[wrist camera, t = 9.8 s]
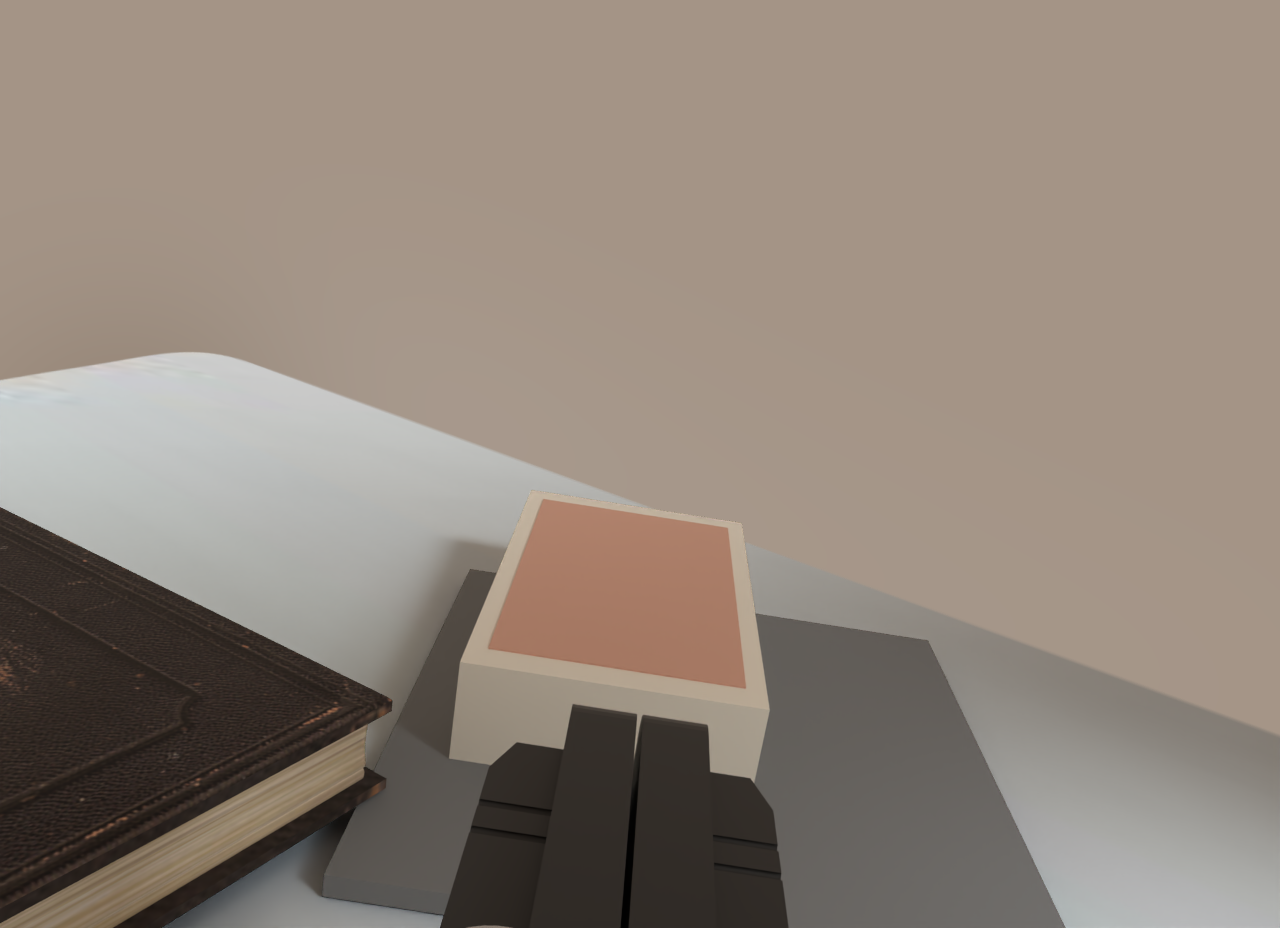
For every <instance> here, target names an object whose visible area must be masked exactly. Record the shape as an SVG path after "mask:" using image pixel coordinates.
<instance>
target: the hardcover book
mask: <svg viewBox="0 0 1280 928" xmlns="http://www.w3.org/2000/svg"><path fill="white" fill-rule="evenodd" d="M391 711H392V700H391V699H390V698H388V697H386V696H384V695H382V694H380V693H378V692H376V691H374V690H372V689H370V688H368V687H366V686H364V685H362V684H360V683H358V682H355V681H353V680H351V679H349V678H347V677H345V676H343V675H341V674H339V673H337V672H335V671H333V670H331V669H329V668H327V667H325V666H323V665H321V664H319V663H317V662H315V661H313V660H311V659H309V658H307V657H305V656H302V655H300V654H298V653H296V652H294V651H292V650H290V649H288V648H286V647H284V646H282V645H280V644H278V643H276V642H274V641H272V640H270V639H268V638H266V637H264V636H262V635H260V634H258V633H256V632H254V631H251V630H249V629H247V628H245V627H243V626H241V625H239V624H237V623H235V622H233V621H231V620H229V619H227V618H225V617H223V616H221V615H219V614H217V613H215V612H213V611H211V610H209V609H207V608H205V607H203V606H201V605H198V604H196V603H194V602H192V601H190V600H188V599H186V598H184V597H182V596H180V595H178V594H176V593H174V592H172V591H170V590H168V589H166V588H164V587H162V586H160V585H158V584H156V583H154V582H152V581H150V580H148V579H145V578H143V577H141V576H139V575H137V574H135V573H133V572H131V571H129V570H127V569H125V568H123V567H121V566H119V565H117V564H115V563H113V562H111V561H109V560H107V559H105V558H103V557H101V556H99V555H97V554H94V553H92V552H90V551H88V550H86V549H84V548H82V547H80V546H78V545H76V544H74V543H72V542H70V541H68V540H66V539H64V538H62V537H60V536H58V535H56V534H54V533H52V532H50V531H48V530H46V529H44V528H41V527H39V526H37V525H35V524H33V523H31V522H29V521H27V520H25V519H23V518H21V517H19V516H17V515H15V514H13V513H11V512H9V511H7V510H5V509H3V508H1V507H0V928H162V927H163V926H165V925H167V924H168V923H170V922H171V921H173V920H175V919H176V918H178V917H179V916H181V915H183V914H184V913H186V912H187V911H189V910H191V909H192V908H194V907H195V906H197V905H199V904H200V903H202V902H203V901H205V900H207V899H208V898H210V897H211V896H213V895H215V894H216V893H218V892H220V891H221V890H223V889H224V888H226V887H228V886H229V885H231V884H232V883H234V882H236V881H237V880H239V879H240V878H242V877H244V876H245V875H247V874H248V873H250V872H252V871H253V870H255V869H256V868H258V867H260V866H261V865H263V864H264V863H266V862H268V861H269V860H271V859H272V858H274V857H276V856H277V855H279V854H281V853H282V852H284V851H285V850H287V849H289V848H290V847H292V846H293V845H295V844H297V843H298V842H300V841H301V840H303V839H305V838H306V837H308V836H309V835H311V834H313V833H314V832H316V831H317V830H319V829H321V828H322V827H324V826H325V825H327V824H329V823H330V822H332V821H334V820H335V819H337V818H338V817H340V816H342V815H343V814H345V813H346V812H348V811H350V810H351V809H353V808H354V807H356V806H358V805H359V804H361V803H362V802H364V801H366V800H367V799H369V798H370V797H372V796H374V795H375V794H377V793H378V792H380V791H382V790H383V789H385V788H386V779H387V778H385V777H383V776H381V775H379V774H377V773H375V772H374V771H372V770H370V769H368V768H366V767H364V766H365V765H366V763H365V740H366V733H367V726H368V724H369V723H371V722H372V721H374V720H376V719H378V718H380V717H382V716H384V715H385V714H387V713H389V712H391Z"/></svg>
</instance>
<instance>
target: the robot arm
mask: <svg viewBox="0 0 1280 928" xmlns="http://www.w3.org/2000/svg"><path fill="white" fill-rule="evenodd" d="M636 725H637V714H635V713H628V712H622V711H615V710H609V709H602V708H596V707H590V706H583V705H577V704H572V709H571V714H570V719H569V724H568V729H567V735H566V740H565V745H564V749H558V748H551V747H545V746H538V745H532V744H525V743H519V742H516V743H515V744H514V745H513V746H512V747H511V748H510V749H508V750H507V751H506V752H505V753H504V754H503V755H502V756H501V757H499V758H498V759H497V760H496V761H495V762H494V763H493V764H492V765H490V766H489V769H488V772H487V775H486V778H485V782H484V785H483V788H482V792H481V795H480V798H479V804H478V805H477V808H476V811H475V815H474V818H473V821H472V824H471V830H470V832H469V834H468V837H467V841H466V844H465V847H464V851H463V854H462V857H461V860H460V864H459V867H458V870H457V874H456V877H455V880H454V883H453V887H452V890H451V893H450V896H449V900H448V903H447V906H446V910H445V913H444V916H443V919H442V923H441V926H440V928H789V926H788V919H787V911H786V903H785V896H784V888H783V880H781V865H780V858H779V851H777V846H778V842H777V835H776V827H775V819H774V812H773V809H772V808H771V806H770V805H769V804H768V802H767V801H766V799H765V798H764V797H763V795H762V794H761V792H760V791H759V790H758V788H757V787H756V785H755V784H754V783H753V781H752V780H751V778H746V777H740V776H733V775H727V774H720V773H714V772H710V754H709V731H708V725H707V724H700V723H694V722H688V721H681V720H675V719H668V718H662V717H655V716H649V715H642V718H641V723H640V727H639V733H638V738H637V744H636V750H635V738H636ZM634 750H635V756H634Z"/></svg>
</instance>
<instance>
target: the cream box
mask: <svg viewBox="0 0 1280 928" xmlns="http://www.w3.org/2000/svg"><path fill="white" fill-rule="evenodd" d="M572 704H577V705H583V706H590V707H596V708H602V709H609V710H615V711H622V712H628V713H635V714H637V725H636V738H635V750H636V744H637V738H638V733H639V727H640V723H641V718H642V715H649V716H655V717H662V718H668V719H675V720H681V721H688V722H694V723H700V724H707V725H708V731H709V754H710V772H714V773H720V774H727V775H733V776H740V777H746V778H751V780H752V781H753V783H754V781H755V777H756V772H757V767H758V763H759V758H760V753H761V749H762V744H763V739H764V735H765V730H766V725H767V721H768V716H769V711H770V708H769V702H768V695H767V688H766V682H765V675H764V668H763V662H762V655H761V648H760V642H759V635H758V629H757V622H756V615H755V609H754V602H753V595H752V589H751V582H750V575H749V569H748V562H747V555H746V549H745V542H744V535H743V529H742V523H738V522H732V521H726V520H719V519H713V518H706V517H700V516H694V515H687V514H681V513H675V512H668V511H662V510H656V509H649V508H643V507H636V506H630V505H624V504H617V503H611V502H605V501H598V500H592V499H585V498H579V497H573V496H566V495H560V494H554V493H547V492H541V491H534V490H531V492H530V494H529V497H528V499H527V502H526V504H525V506H524V509H523V511H522V514H521V516H520V519H519V521H518V523H517V526H516V528H515V531H514V533H513V535H512V538H511V540H510V543H509V545H508V547H507V550H506V552H505V555H504V557H503V559H502V562H501V564H500V567H499V569H498V572H497V574H496V576H495V579H494V581H493V584H492V586H491V588H490V591H489V593H488V596H487V598H486V600H485V603H484V605H483V608H482V610H481V612H480V615H479V617H478V620H477V622H476V624H475V627H474V629H473V632H472V634H471V637H470V639H469V641H468V644H467V646H466V649H465V651H464V653H463V656H462V658H461V661H460V666H459V675H458V683H457V692H456V701H455V710H454V718H453V727H452V736H451V745H450V753H449V759H455V760H462V761H468V762H475V763H481V764H488V765H492V764H493V763H494V762H495V761H496V760H497V759H498V758H499V757H501V756H502V755H503V754H504V753H505V752H506V751H507V750H508V749H510V748H511V747H512V746H513V745H514V744H515V743H516V742H519V743H525V744H532V745H538V746H545V747H551V748H558V749H564V745H565V740H566V735H567V729H568V724H569V719H570V714H571V709H572ZM635 750H634V756H635Z"/></svg>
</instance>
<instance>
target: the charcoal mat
mask: <svg viewBox="0 0 1280 928" xmlns="http://www.w3.org/2000/svg"><path fill="white" fill-rule="evenodd" d="M496 574H497V573H492V572H485V571H479V570H472V569H470V571H469V573H468V575H467V577H466V579H465V581H464V583H463V585H462V587H461V589H460V592H459V594H458V596H457V598H456V600H455V602H454V604H453V606H452V608H451V610H450V612H449V614H448V617H447V619H446V621H445V623H444V625H443V627H442V629H441V631H440V633H439V635H438V637H437V640H436V642H435V644H434V646H433V648H432V650H431V652H430V654H429V656H428V658H427V660H426V662H425V665H424V667H423V669H422V671H421V673H420V675H419V677H418V679H417V681H416V683H415V685H414V688H413V690H412V692H411V694H410V696H409V698H408V700H407V702H406V704H405V706H404V708H403V710H402V713H401V715H400V717H399V719H398V721H397V723H396V725H395V727H394V729H393V731H392V733H391V736H390V738H389V740H388V742H387V744H386V746H385V748H384V750H383V752H382V754H381V756H380V758H379V761H378V763H377V765H376V767H375V769H374V772H375V773H377V774H379V775H381V776H383V777H385V778H387V779H386V788H385V789H383V790H382V791H380V792H378V793H377V794H375V795H374V796H372V797H370V798H369V799H367V800H366V801H364V802H362V803H361V804H359V805H358V806H357V807H356V809H355V811H354V813H353V815H352V817H351V819H350V821H349V823H348V825H347V827H346V829H345V832H344V834H343V836H342V838H341V840H340V842H339V844H338V846H337V848H336V850H335V852H334V855H333V857H332V859H331V861H330V863H329V865H328V867H327V869H326V871H325V873H324V878H323V891H322V896H323V897H329V898H336V899H343V900H349V901H356V902H362V903H369V904H375V905H382V906H388V907H395V908H401V909H408V910H415V911H421V912H428V913H434V914H441V915H444V913H445V910H446V906H447V903H448V900H449V896H450V893H451V890H452V887H453V883H454V880H455V877H456V874H457V870H458V867H459V864H460V860H461V857H462V854H463V851H464V847H465V844H466V841H467V837H468V834H469V832H470V830H471V824H472V821H473V818H474V815H475V811H476V808H477V805H478V804H479V798H480V795H481V792H482V788H483V785H484V782H485V778H486V775H487V772H488V769H489V766H490V765H488V764H481V763H475V762H468V761H462V760H455V759H449V753H450V745H451V736H452V727H453V718H454V710H455V701H456V692H457V683H458V675H459V666H460V661H461V658H462V656H463V653H464V651H465V649H466V646H467V644H468V641H469V639H470V637H471V634H472V632H473V629H474V627H475V624H476V622H477V620H478V617H479V615H480V612H481V610H482V608H483V605H484V603H485V600H486V598H487V596H488V593H489V591H490V588H491V586H492V584H493V581H494V579H495V576H496ZM755 615H756V622H757V629H758V635H759V642H760V648H761V655H762V662H763V668H764V675H765V682H766V688H767V695H768V702H769V708H770V711H769V716H768V721H767V725H766V730H765V735H764V739H763V744H762V749H761V753H760V758H759V763H758V767H757V772H756V777H755V781H754V784H755V785H756V787H757V788H758V790H759V791H760V792H761V794H762V795H763V797H764V798H765V799H766V801H767V802H768V804H769V805H770V806H771V808H772V809H773V812H774V819H775V827H776V835H777V842H778V846H777V851H779V858H780V865H781V880H783V888H784V896H785V903H786V911H787V919H788V926H789V928H1065V926H1064V924H1063V922H1062V920H1061V918H1060V915H1059V913H1058V911H1057V909H1056V907H1055V905H1054V903H1053V901H1052V899H1051V897H1050V895H1049V892H1048V890H1047V888H1046V886H1045V884H1044V882H1043V880H1042V878H1041V876H1040V874H1039V872H1038V869H1037V867H1036V865H1035V863H1034V861H1033V859H1032V857H1031V855H1030V853H1029V851H1028V849H1027V846H1026V844H1025V842H1024V840H1023V838H1022V836H1021V834H1020V832H1019V830H1018V828H1017V826H1016V824H1015V821H1014V819H1013V817H1012V815H1011V813H1010V811H1009V809H1008V807H1007V805H1006V803H1005V801H1004V798H1003V796H1002V794H1001V792H1000V790H999V788H998V786H997V784H996V782H995V780H994V778H993V775H992V773H991V771H990V769H989V767H988V765H987V763H986V761H985V759H984V757H983V755H982V752H981V750H980V748H979V746H978V744H977V742H976V740H975V738H974V736H973V734H972V732H971V729H970V727H969V725H968V723H967V721H966V719H965V717H964V715H963V713H962V711H961V709H960V707H959V704H958V702H957V700H956V698H955V696H954V694H953V692H952V690H951V688H950V686H949V684H948V681H947V679H946V677H945V675H944V673H943V671H942V669H941V667H940V665H939V663H938V661H937V658H936V656H935V654H934V652H933V650H932V648H931V646H930V644H929V642H928V641H927V640H921V639H915V638H908V637H902V636H895V635H889V634H882V633H876V632H870V631H863V630H857V629H850V628H844V627H838V626H831V625H825V624H818V623H812V622H806V621H799V620H793V619H786V618H780V617H774V616H767V615H761V614H755Z"/></svg>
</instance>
